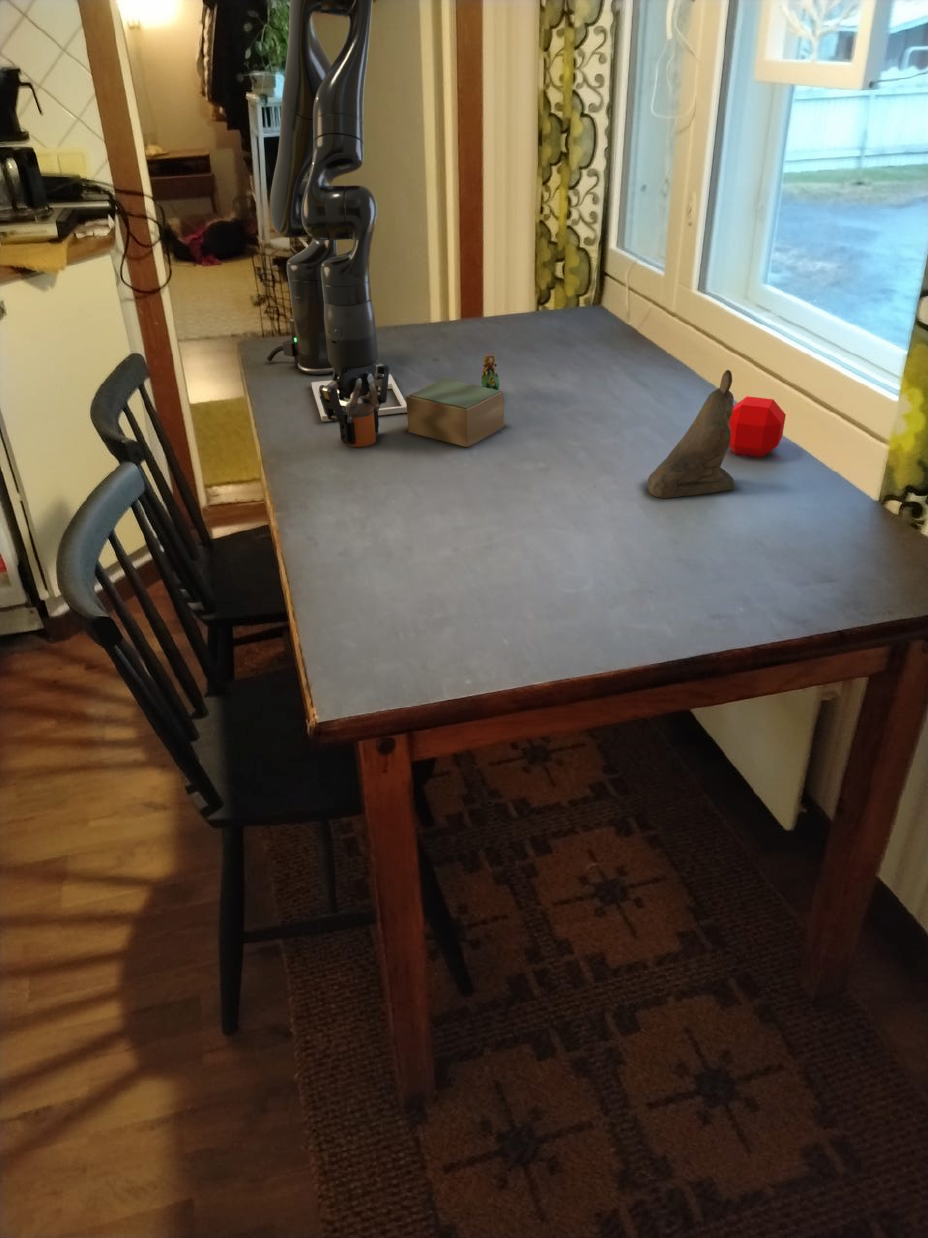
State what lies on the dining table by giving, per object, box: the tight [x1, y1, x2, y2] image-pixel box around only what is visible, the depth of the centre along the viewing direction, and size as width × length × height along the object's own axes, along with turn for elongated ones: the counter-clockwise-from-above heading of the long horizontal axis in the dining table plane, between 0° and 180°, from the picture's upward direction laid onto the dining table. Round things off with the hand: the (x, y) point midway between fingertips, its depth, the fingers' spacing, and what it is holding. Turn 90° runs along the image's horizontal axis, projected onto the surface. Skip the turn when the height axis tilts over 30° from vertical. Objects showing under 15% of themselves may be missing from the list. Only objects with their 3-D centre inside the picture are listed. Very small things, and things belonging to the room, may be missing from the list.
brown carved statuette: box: [647, 369, 735, 499], centre depth 131 cm, size 12×6×18 cm, turn 97°
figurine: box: [480, 354, 500, 391], centre depth 164 cm, size 3×12×8 cm, turn 5°
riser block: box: [405, 378, 505, 448], centre depth 154 cm, size 12×10×6 cm
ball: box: [729, 395, 787, 458], centre depth 143 cm, size 8×8×8 cm
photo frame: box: [311, 373, 407, 422], centre depth 168 cm, size 15×1×18 cm
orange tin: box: [344, 402, 377, 448], centre depth 151 cm, size 5×5×5 cm
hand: (360, 437), depth 152 cm, fingers closed on orange tin, 4 cm apart
